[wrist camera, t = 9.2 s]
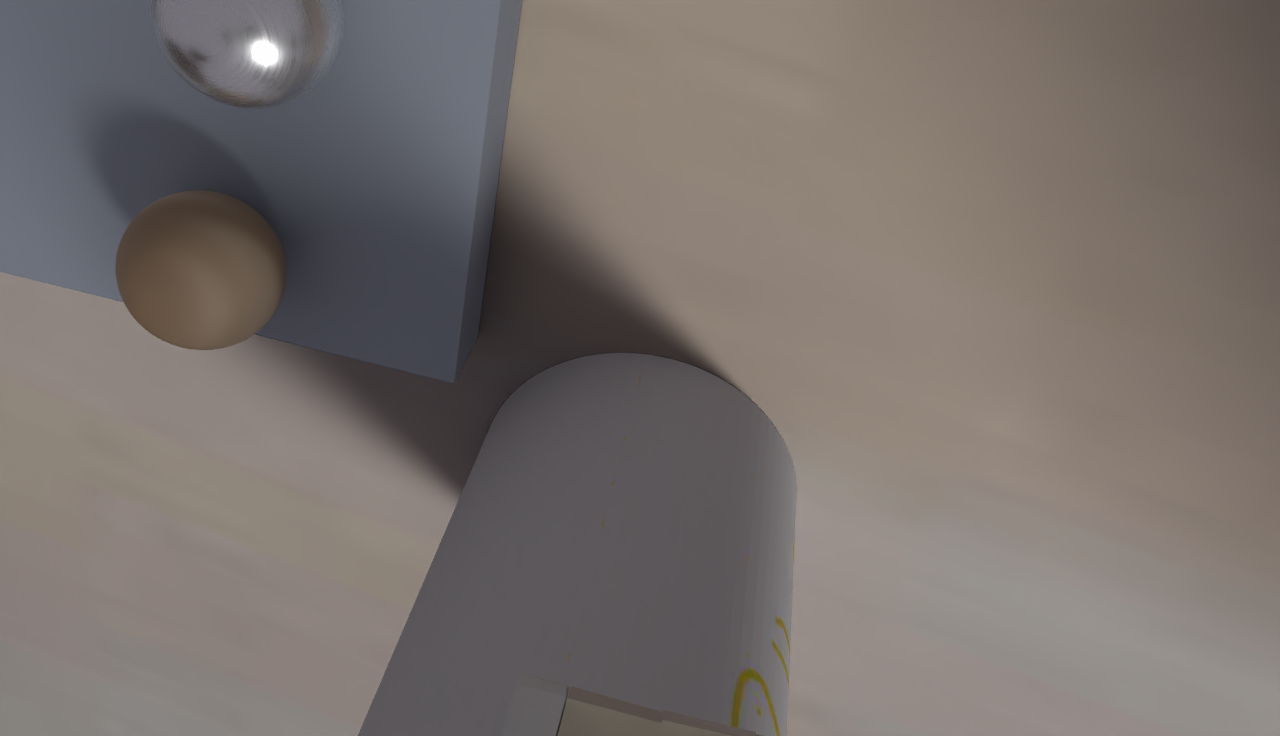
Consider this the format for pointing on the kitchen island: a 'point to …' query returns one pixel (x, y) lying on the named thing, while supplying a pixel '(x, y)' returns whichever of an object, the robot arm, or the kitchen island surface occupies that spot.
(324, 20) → the steel ball
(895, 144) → the kitchen island surface
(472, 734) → the cup
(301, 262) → the board
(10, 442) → the kitchen island surface
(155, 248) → the cork ball
